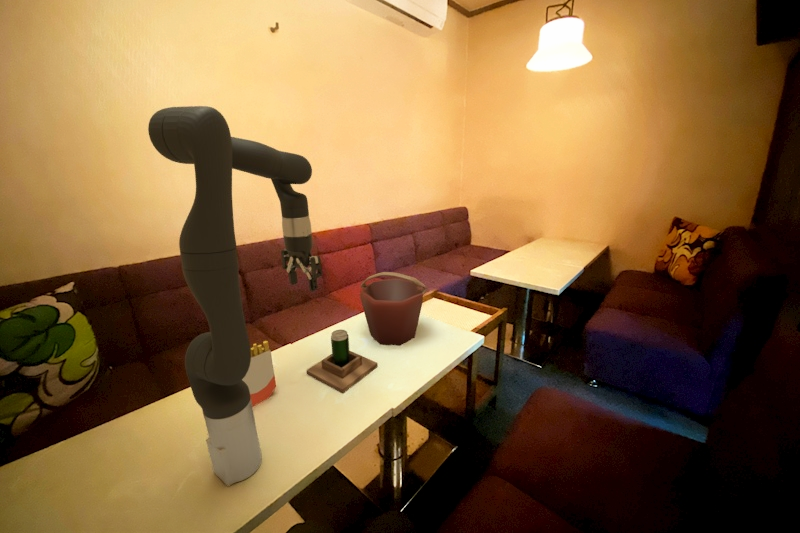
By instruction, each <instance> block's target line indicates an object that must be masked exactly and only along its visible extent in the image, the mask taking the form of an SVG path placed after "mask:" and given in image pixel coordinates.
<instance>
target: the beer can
mask: <svg viewBox="0 0 800 533" xmlns="http://www.w3.org/2000/svg"><path fill="white" fill-rule="evenodd" d="M349 341H350V340H349V334H348V331H347V330H345V329H336V330H334V331H331V335H330V343H331V354H332V357H333V364H335V365H337V366H339V367H341V368H342V367H344V366H345V365H346V364H348V363H349V362H350V353H349V351H350V342H349Z"/></svg>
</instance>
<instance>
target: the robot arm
mask: <svg viewBox="0 0 800 533" xmlns="http://www.w3.org/2000/svg"><path fill="white" fill-rule="evenodd" d="M147 128H148V129H147V130H148V135H149V140H150V142H151V143H152V146H153V147H154V149H155V150H156V151H157V152H158V153H159V154H160V155H161V156H162V157H164V158H165V159H167V160H169V161H171V162H175V163H179V164H185V165H193V166H194V175H195V176H194V178H195V195H194V199H193V203H192V206H191V208H190V211H189V212H188V215H187V217H186V219H185V221H184V224H183V226H182V229H181V231H180V236H179V242H178V244H179V245H178V246H179V254H180V261H181V267H182V274H183V276H184V280H185V283H186V284H187V286H188V288H189V290H190V292H191V294H192V296H193V297H194V299H195V300H196V302H197V303H198V305H199V307H200V308H201V310H202V311H203V313H204V316H205V317H206V320H207V323H208V327H209V332H208V331H207V332H203V333H201V334H199V335H197V336H196V337H194V338H193V340H191V342H189V344H188V346H187V349H186V352H185V356H184V367H185V372H186V376H187V379H188V381H189V385H190V388H191V392H192V395H193V398H194V400H195V401H196V403H197V404H198V406H199V407H200V408H201V410H202V414H203V418H204V421H205V426H206V431H207V435H208V437H207V438H206V440H205V442H206V446H207V450H208V453H209V459H210V462H211V467H212V470H213V473H214V475H216V476H217V477H218V478H219V479H220V480H221V481H222V482H223V483H224V484H225V485H226V486H227V487H230V486H231V485H233V484H235V483H238V482H242V481H245V480H247V479H248V478H249V477H251V476H253V475H254V474H255V473H256V472H257V470H258V469H259V468H260V466H261V463H262V462H263V461H262V460H263V456H262V450H261V447H260V446H261V444H260V440H259V435H258V431H257V430H258V429H257V425H256V420H255V415H254V414H255V413H254V409H253V407H254V406H252V402H251V397H250V391H249V388H248V386H247V384H246V383H245V382H244V381H243V380H242V379H243V378H244V377H245V375H246V374H247V372H248V369H249V366H250V362H251V348H252V347H251V343H250V339H249V333H248V329H247V324H246V318H245V315H244V307H243V300H242V294H241V286H240V285H241V284H240V275H239V259H238V258H239V257H238V249H237V240H236V233H235V221H234V209H233V208H234V207H233V170H236V171H240V172H243V173H248V174H251V175H254V176H257V177H262V178H264V179H265V178H266V179H270V180H271V182H272V184H273V188H274V190H275V192H276V195H277V198H278V200H279V203H280V205H279V206H280V211H281V228H282V235H283V243H284V249H281V251H280V253H281V254H280V256H281V267H282V270H286V272H287V273H288V281H289V284H290V285H292V286H294V285H296V284H297V283H298V275H297V271H296V270H297V269H298V268H299V269H300V270H302V272H303V274H305V275H306V276H307V277H308V289H309V292H312V293H313V292H315V291H317V289H318V278H320V277H322V276H323V271H322V263H321V257H320V256H319V255H313V254H312V252H311V251H312V249H313V247H314V243H313V242H314V241H313V232H312V224H311V219H310V212H309V202H308V197H307V195H306V194H304V193H301V192H298V191H296V190H295V189H294V188H293V186H292V185H304V184H306V183H308V182H309V181H310V179H311V178H312V174H313V169H312V168H313V167H312V165H311V163H310V161H309V160H308V159H307V158H306V157H305V156H302V155H300V154H298V153H293V152H292V153H291V152H289V151H288V152H287V151H281V150H278V149H276V148H274V147H271V146H269V145H266V144H264V143H261V142H258V141H255V140H250V139H244V138H239V137H234V136H232V135H231V130H230V128H229V124H228V122H227V120H226V119H225V117H224V115H223V114H222V113H221V111H219V110H217V109H216V108H214V107H212V106H206V105H204V106H203V105H197V106H196V105H195V106H193V105H191V106H189V105H188V106H172V107H165V108H161V109H159V110H158V111H157V110H156V112H155V113H153V114H152V116H151V117H150V119H149V122H148V127H147Z"/></svg>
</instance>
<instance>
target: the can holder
mask: <svg viewBox="0 0 800 533" xmlns="http://www.w3.org/2000/svg"><path fill="white" fill-rule="evenodd" d="M349 353H350V362H349V363H348V364H346V365H345V366H344V367H342V368H341V367H339V366H337V365H335V364H333V357H332V353H331V354H329V355H328V356H326V357H324V358H323V359H322V360H319V361H318V362H317V363H315V364H314V365H312V366H310V367H309V368H307V369H306V370H305V371H306V372H305V373H306V375H307V376H309V377H311V378H313V379H315V380H317V381H318V382H319V383H320V382H321V383H322V384H324V385H326V386H327V387H330V388H332V389H333V390H335V391H337V392H339V393H341V394H344V393H346V392H347V391H348V390H350V389H351V388H352V387H354V386H355V385H356V384H357V383H359V382H360V381H361V380H362V379H363V378H365V377H366V376H368V375H369V374H370V373H371V372H373V371H375V370H376V368H378V362H376V361H374V360H372V359H370V358H368V357H366V356H363V355H361V354H358V353H356V352H353V351H351V350H349ZM349 388H350V389H349ZM345 391H346V392H345Z"/></svg>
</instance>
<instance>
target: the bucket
mask: <svg viewBox="0 0 800 533" xmlns="http://www.w3.org/2000/svg"><path fill="white" fill-rule="evenodd" d="M380 277H394V278H387V279H379V280H373V279H375V278H380ZM370 280H371V281H370ZM372 280H373V281H372ZM368 281H370V282H369V283H368V284H366V283H367V282H368ZM360 288H361V289H360V291H359V292H360V293H359V294H360V295H359V296H360V301H361V304H362V308H363V312H364V316H365V321H366V324H367V327H368V331H369V335H370V337H371V338H372V339H373V340H375V341H376V342H377V343H378V344H379V345H383V346H384V345H385V346H397V347H398V346H402V345H404V344H406V343H408V342H410V341H412V340H413V339H415V338H416V334H417V330H418V324H419V319H420V315H421V312H422V311H421V310H422V306H423V303H424V295H425V294H426V292H427V291H428V289H427V286H426V285H425V284H424V283H423V282H421V281H420V280H418V278H416V277H413V276H409V275H406V274H403V273H399V272H395V271H394V272H392V271H383V272H379V273H374V274H372V275H370V276H368V277H366V278H365V279H364V281H363V282H362V283H360Z"/></svg>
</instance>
